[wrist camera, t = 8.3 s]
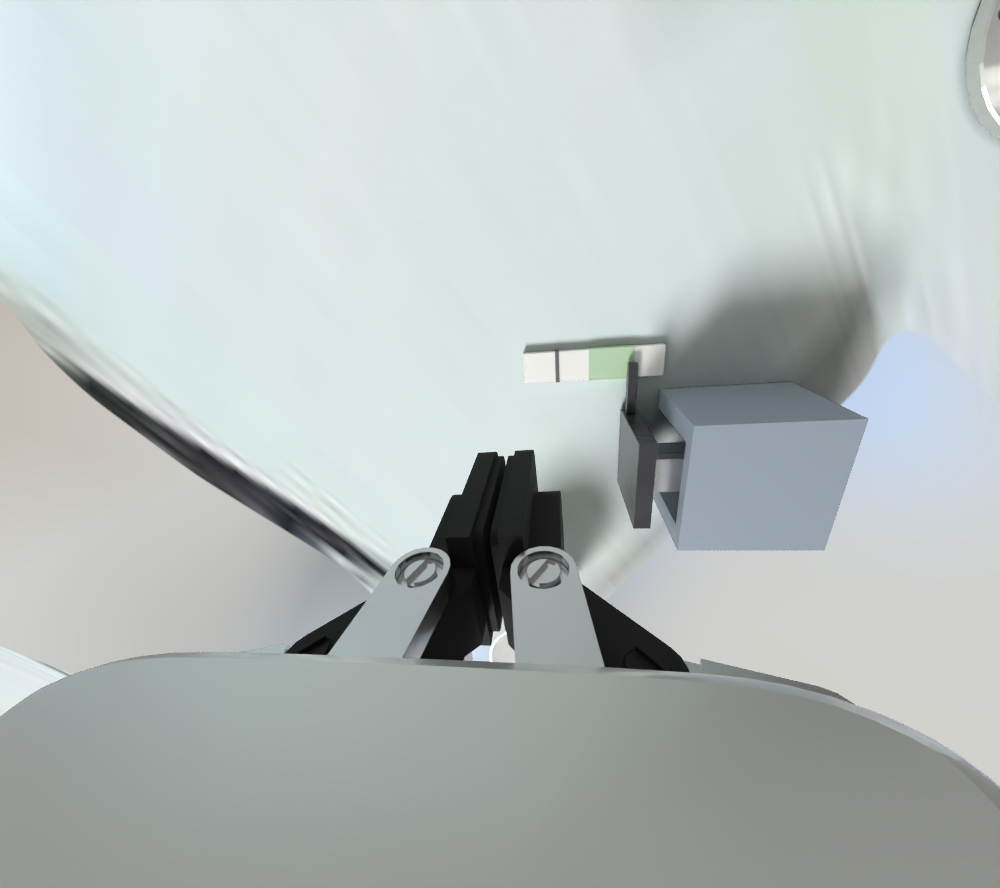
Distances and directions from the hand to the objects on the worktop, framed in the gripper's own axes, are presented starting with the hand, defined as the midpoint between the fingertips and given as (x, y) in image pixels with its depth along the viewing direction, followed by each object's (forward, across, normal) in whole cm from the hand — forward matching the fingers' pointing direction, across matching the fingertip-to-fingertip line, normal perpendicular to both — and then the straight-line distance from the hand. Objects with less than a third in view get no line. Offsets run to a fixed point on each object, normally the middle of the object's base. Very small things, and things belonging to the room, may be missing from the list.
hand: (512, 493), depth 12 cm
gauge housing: (+22, -9, +8) cm, 25 cm away
